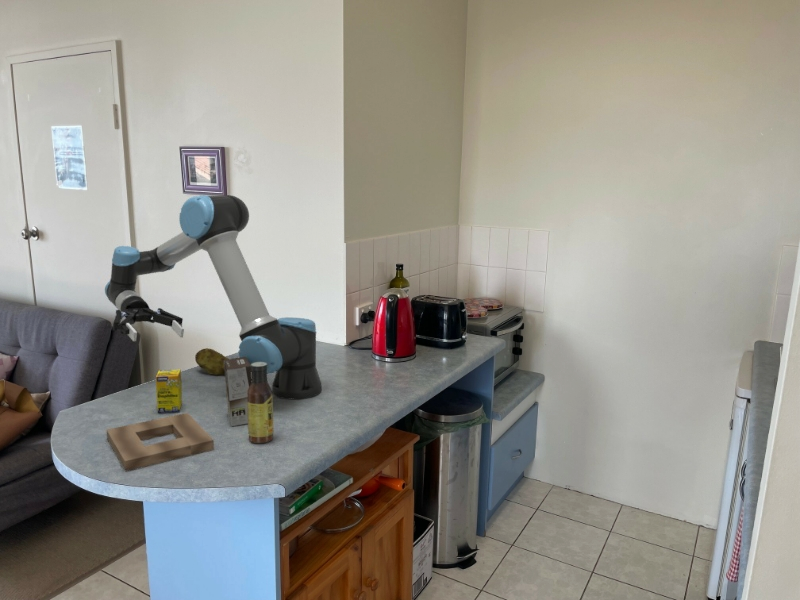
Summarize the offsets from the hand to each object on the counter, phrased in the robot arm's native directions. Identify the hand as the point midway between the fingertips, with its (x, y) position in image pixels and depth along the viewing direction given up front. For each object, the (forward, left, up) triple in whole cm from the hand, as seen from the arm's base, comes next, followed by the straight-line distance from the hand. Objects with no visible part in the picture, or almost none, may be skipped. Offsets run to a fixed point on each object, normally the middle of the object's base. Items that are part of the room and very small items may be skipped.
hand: (159, 335), depth 172 cm
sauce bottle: (-38, +19, -20) cm, 47 cm away
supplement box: (-6, +6, -20) cm, 22 cm away
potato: (-4, -26, -20) cm, 33 cm away
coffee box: (-28, +8, -20) cm, 35 cm away
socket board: (-15, +27, -20) cm, 37 cm away
